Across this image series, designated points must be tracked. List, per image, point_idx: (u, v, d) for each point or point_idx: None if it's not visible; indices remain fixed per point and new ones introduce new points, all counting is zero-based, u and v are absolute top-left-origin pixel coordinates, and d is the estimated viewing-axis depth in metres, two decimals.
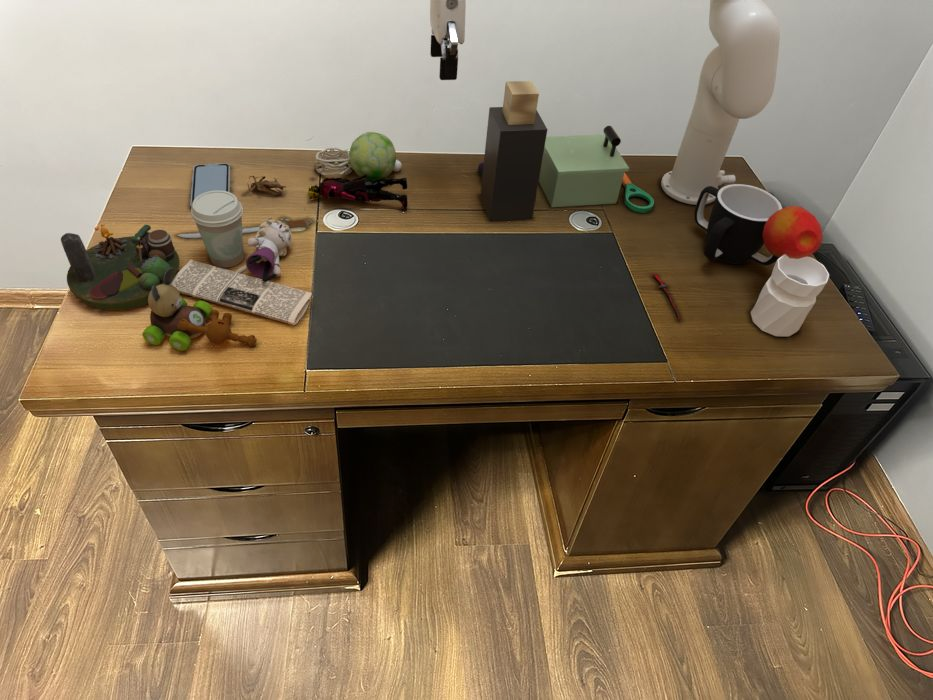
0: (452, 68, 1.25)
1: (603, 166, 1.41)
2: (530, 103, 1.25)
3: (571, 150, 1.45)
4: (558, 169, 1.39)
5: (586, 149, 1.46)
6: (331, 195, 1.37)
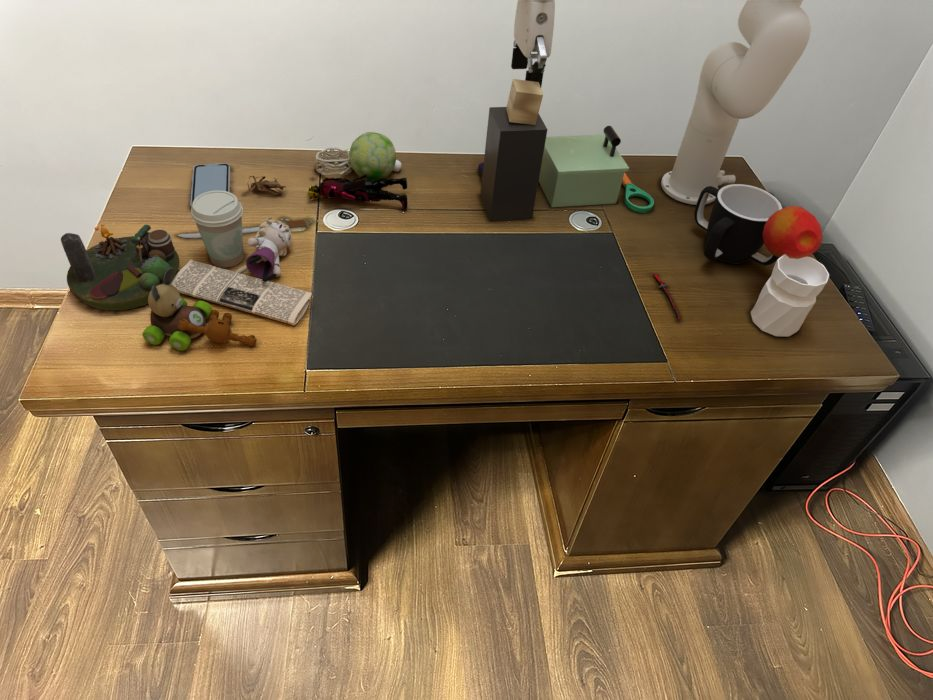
0: (537, 81, 1.28)
1: (603, 166, 1.41)
2: (533, 103, 1.25)
3: (571, 150, 1.45)
4: (558, 169, 1.39)
5: (586, 149, 1.46)
6: (331, 195, 1.37)
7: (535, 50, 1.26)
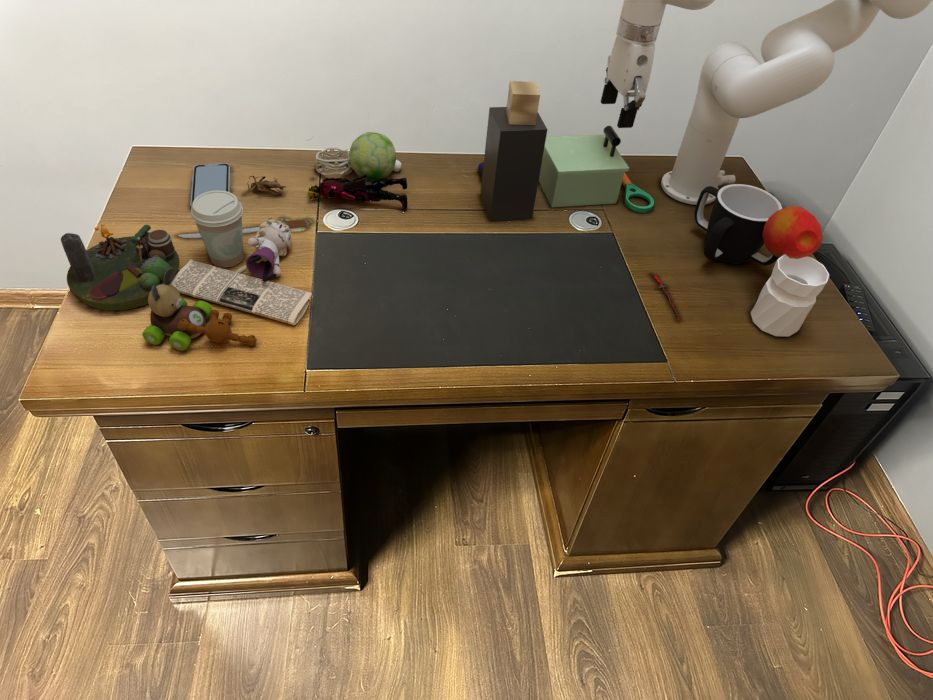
0: (631, 117, 1.34)
1: (603, 166, 1.41)
2: (531, 103, 1.25)
3: (571, 150, 1.45)
4: (558, 169, 1.39)
5: (586, 149, 1.46)
6: (331, 195, 1.37)
7: (631, 89, 1.33)
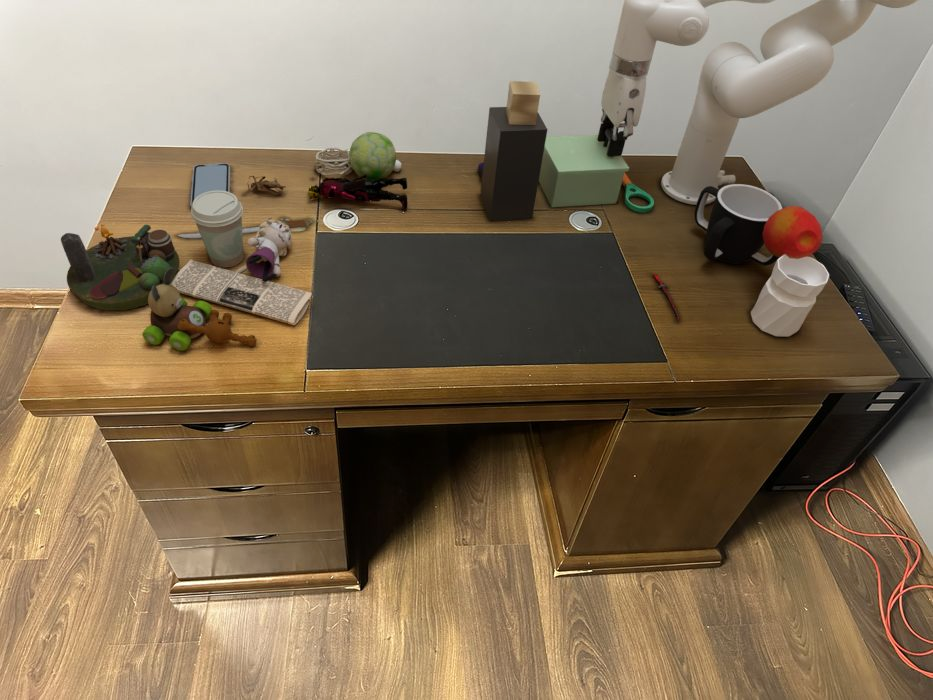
0: (620, 147, 1.41)
1: (603, 166, 1.41)
2: (531, 103, 1.25)
3: (571, 150, 1.45)
4: (558, 169, 1.39)
5: (586, 149, 1.46)
6: (331, 195, 1.37)
7: (624, 120, 1.38)
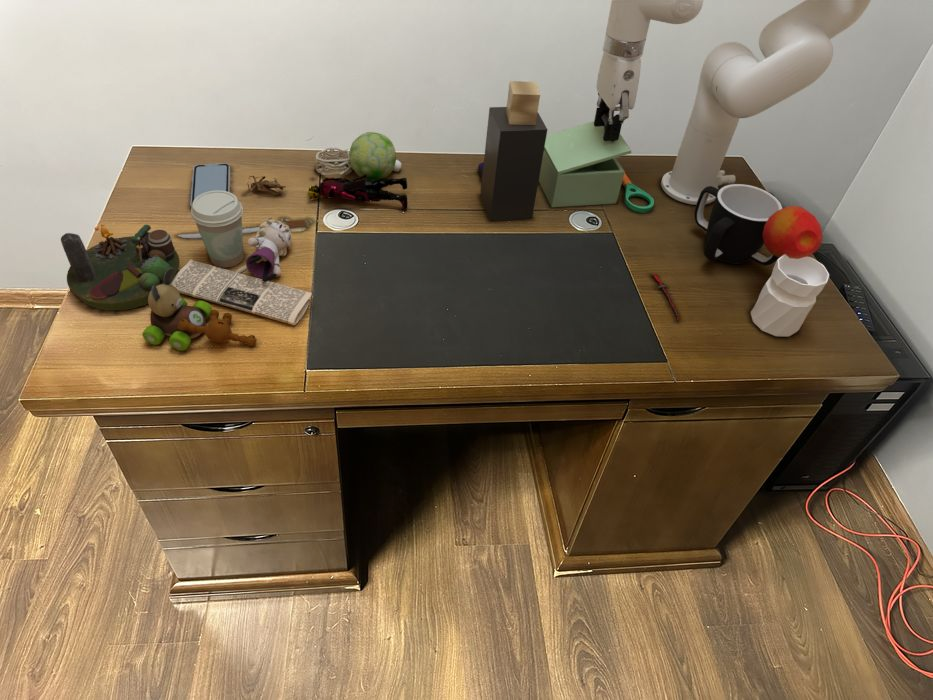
0: (616, 131, 1.38)
1: (604, 155, 1.39)
2: (531, 103, 1.25)
3: (571, 144, 1.44)
4: (558, 169, 1.39)
5: (586, 139, 1.44)
6: (331, 195, 1.37)
7: (619, 103, 1.35)
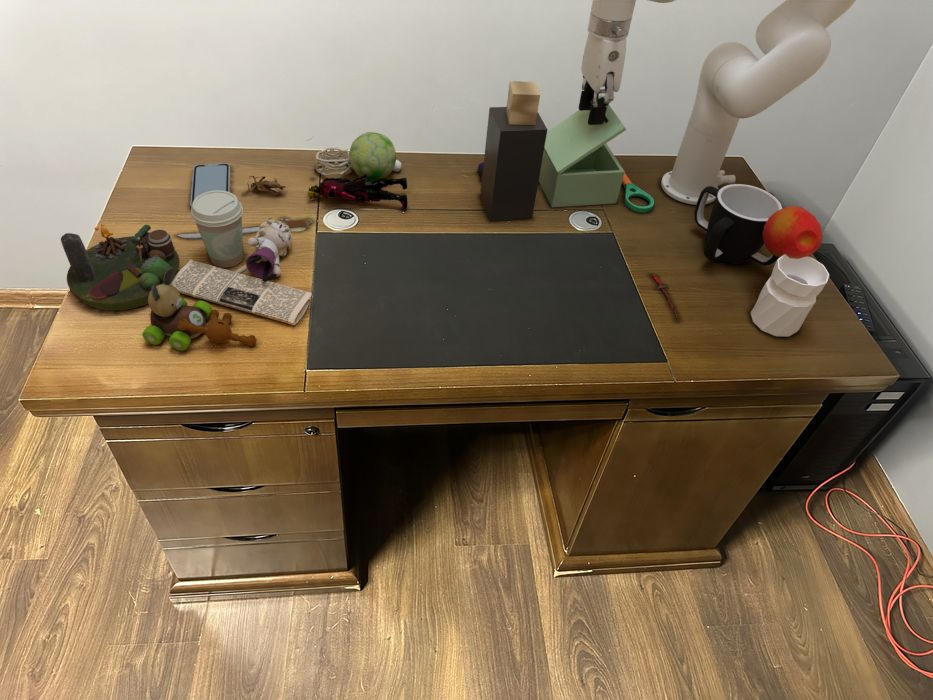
0: (601, 114, 1.35)
1: (599, 140, 1.37)
2: (531, 103, 1.25)
3: (568, 137, 1.42)
4: (557, 169, 1.39)
5: (582, 127, 1.42)
6: (331, 195, 1.37)
7: (604, 85, 1.31)
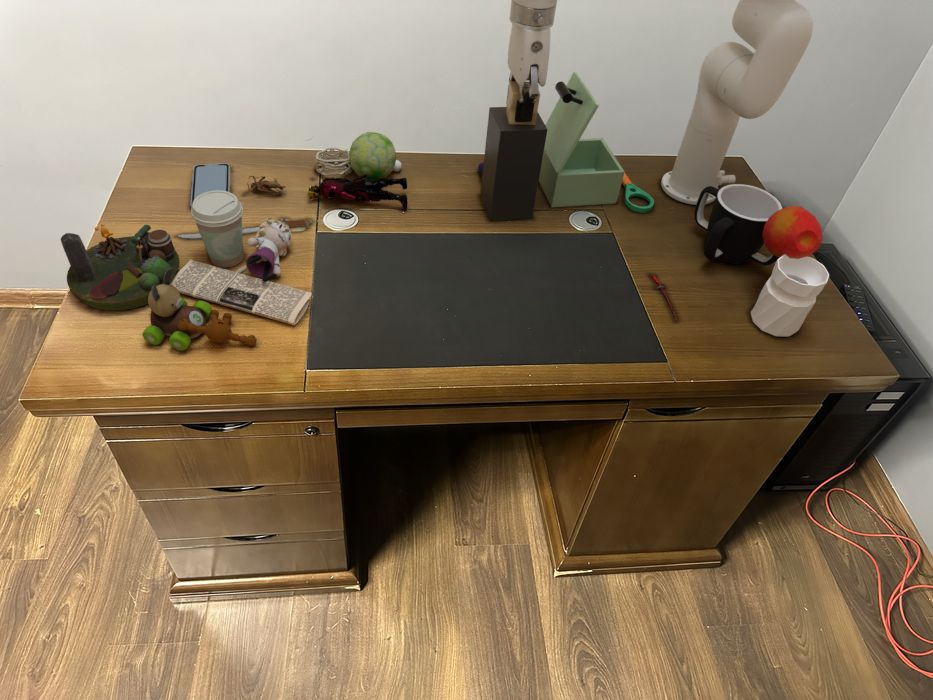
0: (528, 111, 1.24)
1: (579, 127, 1.33)
2: None
3: (557, 130, 1.41)
4: (556, 169, 1.39)
5: (565, 115, 1.39)
6: (331, 195, 1.37)
7: None
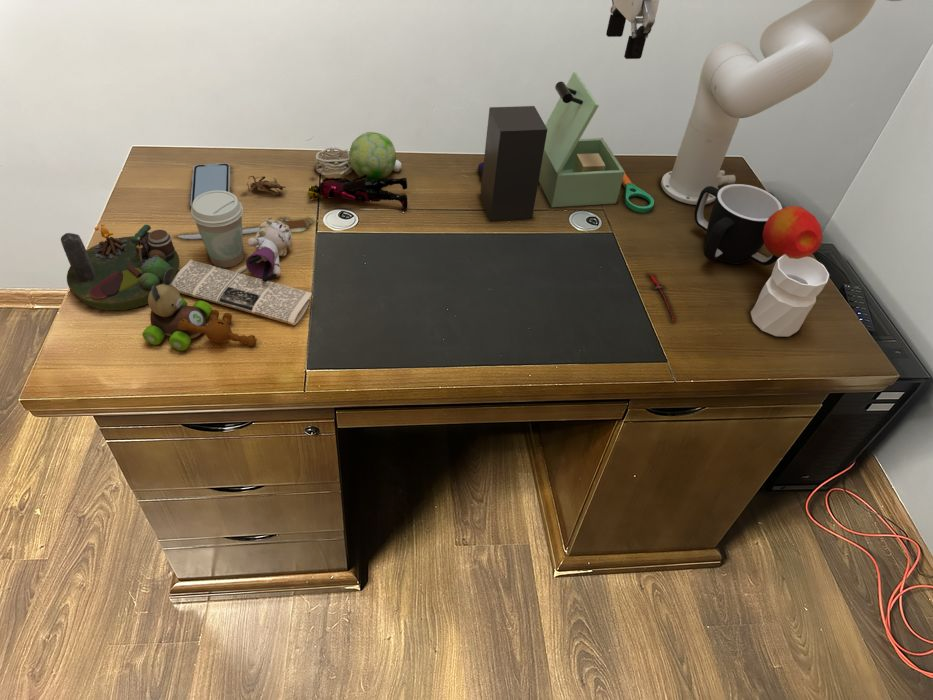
0: (640, 46, 1.25)
1: (579, 127, 1.33)
2: None
3: (557, 130, 1.41)
4: (556, 169, 1.39)
5: (565, 115, 1.39)
6: (331, 195, 1.37)
7: (639, 15, 1.23)
